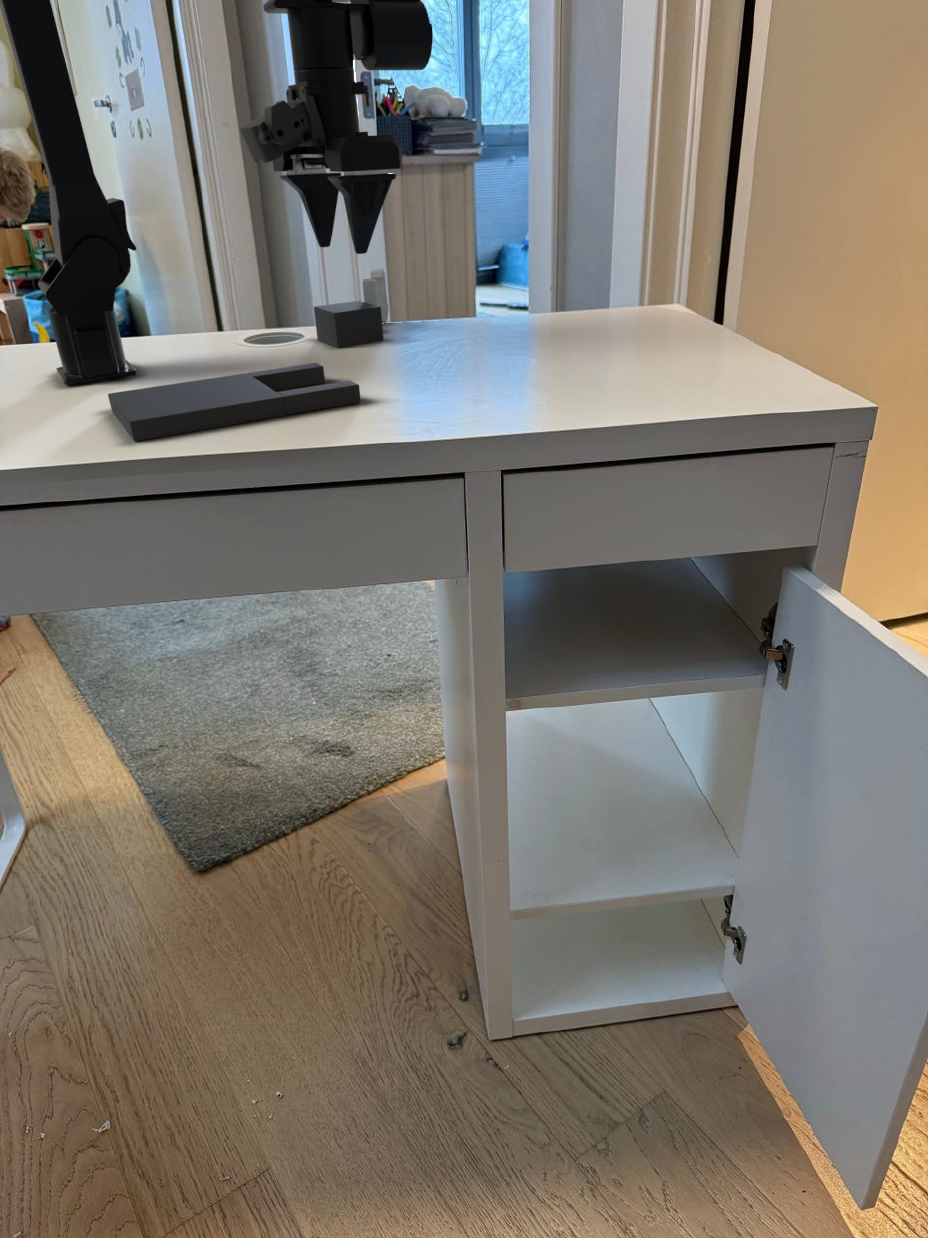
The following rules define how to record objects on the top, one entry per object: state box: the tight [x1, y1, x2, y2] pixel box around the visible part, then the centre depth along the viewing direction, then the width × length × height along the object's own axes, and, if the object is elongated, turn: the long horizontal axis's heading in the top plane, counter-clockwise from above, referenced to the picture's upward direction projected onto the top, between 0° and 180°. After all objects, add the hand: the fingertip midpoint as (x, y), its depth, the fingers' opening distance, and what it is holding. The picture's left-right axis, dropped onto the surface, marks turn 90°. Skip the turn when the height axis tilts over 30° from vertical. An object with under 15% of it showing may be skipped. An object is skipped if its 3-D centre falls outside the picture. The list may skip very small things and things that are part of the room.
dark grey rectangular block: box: [313, 300, 384, 349], centre depth 92 cm, size 5×5×4 cm
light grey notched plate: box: [361, 268, 389, 324], centre depth 99 cm, size 6×1×10 cm
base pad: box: [107, 362, 362, 442], centre depth 70 cm, size 10×18×2 cm, turn 119°
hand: (342, 250), depth 88 cm, fingers open, 9 cm apart
